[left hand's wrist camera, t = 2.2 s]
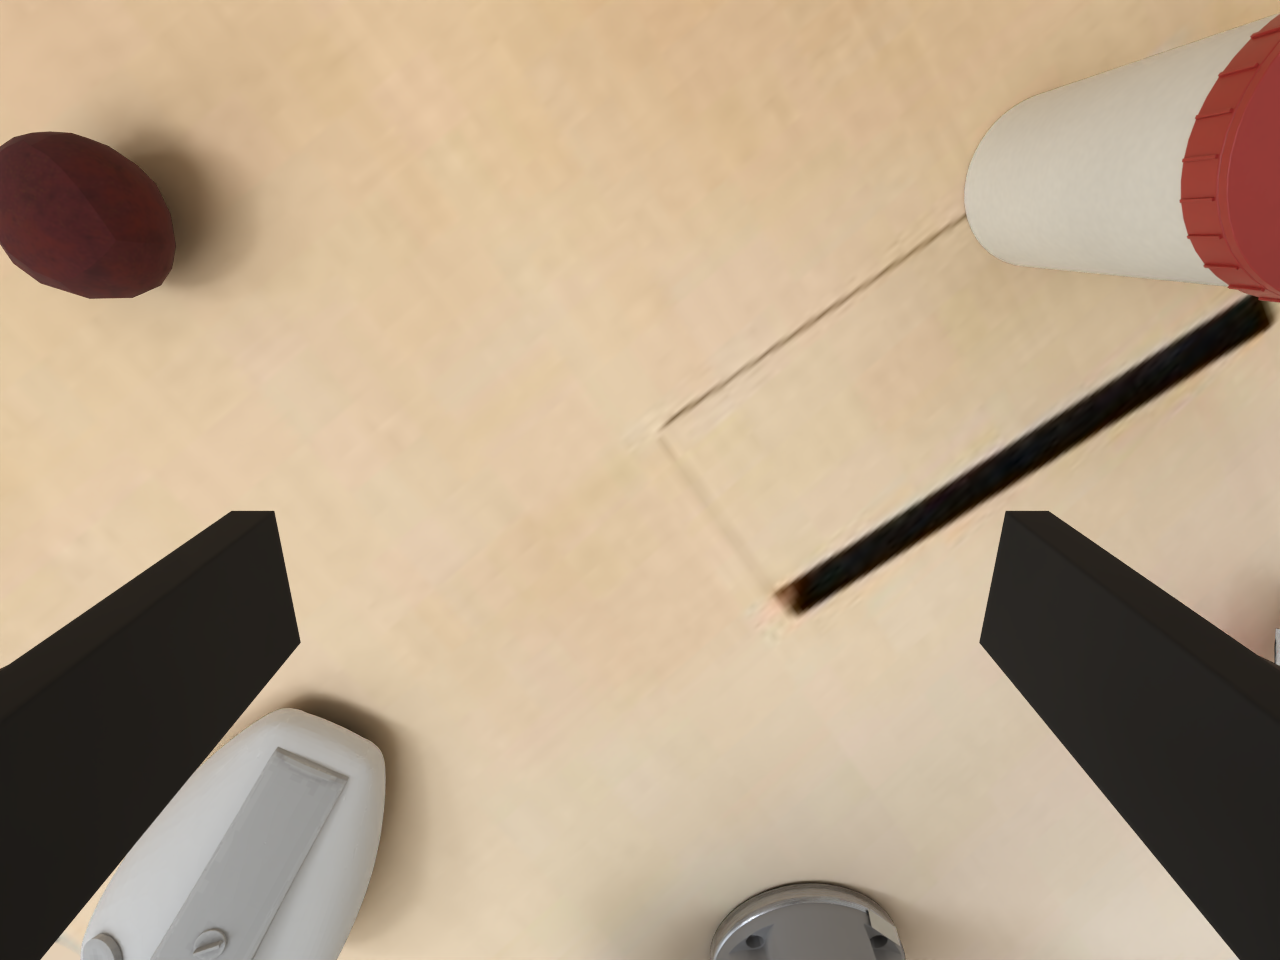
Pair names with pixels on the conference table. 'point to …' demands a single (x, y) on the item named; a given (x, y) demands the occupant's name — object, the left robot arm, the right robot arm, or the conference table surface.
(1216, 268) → the lid
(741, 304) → the conference table surface
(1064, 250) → the jar
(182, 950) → the projector
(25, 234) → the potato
